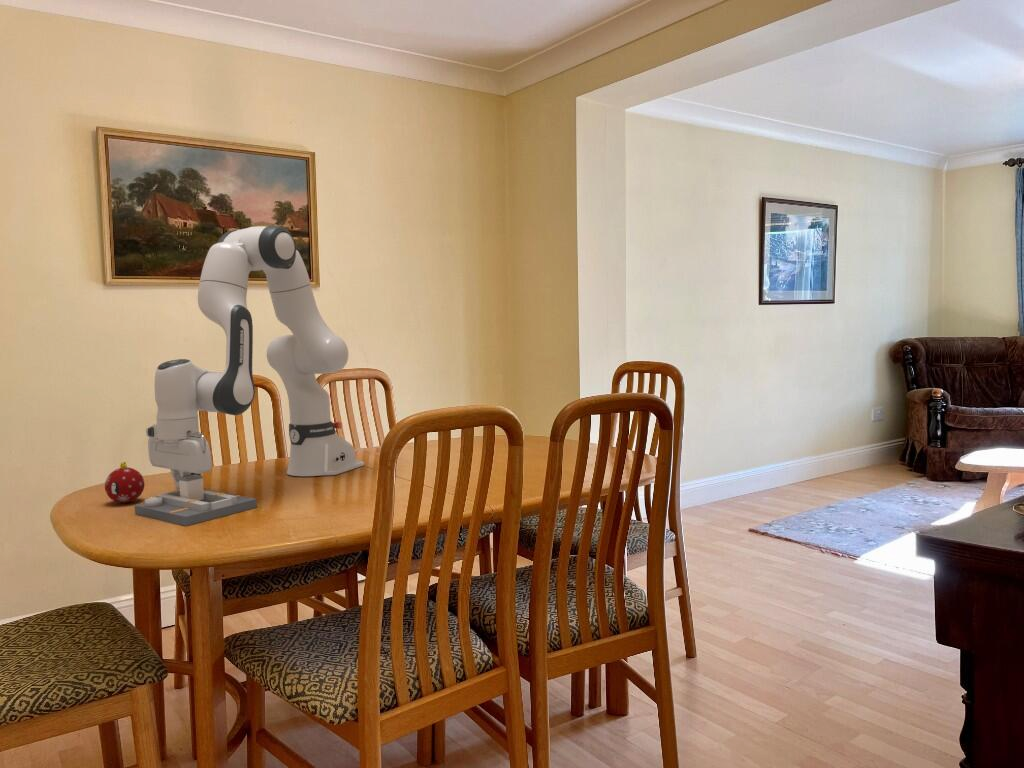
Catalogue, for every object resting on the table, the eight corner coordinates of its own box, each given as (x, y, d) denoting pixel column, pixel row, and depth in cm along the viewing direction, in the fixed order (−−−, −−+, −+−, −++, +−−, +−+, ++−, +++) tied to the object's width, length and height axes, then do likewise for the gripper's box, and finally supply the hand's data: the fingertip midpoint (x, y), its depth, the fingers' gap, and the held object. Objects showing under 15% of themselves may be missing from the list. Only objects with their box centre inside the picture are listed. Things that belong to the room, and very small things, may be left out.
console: (205, 497, 188) (204, 482, 188) (257, 507, 177) (256, 491, 177) (135, 514, 174) (134, 498, 173) (186, 526, 162) (185, 509, 162)
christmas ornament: (153, 498, 189) (150, 458, 188) (130, 507, 180) (127, 465, 179) (121, 498, 190) (118, 458, 189) (98, 506, 181) (94, 465, 180)
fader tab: (196, 497, 178) (194, 473, 178) (203, 499, 177) (202, 475, 176) (180, 501, 175) (178, 477, 175) (188, 503, 173) (186, 478, 173)
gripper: (217, 431, 173) (220, 490, 174) (166, 425, 185) (170, 481, 186) (191, 435, 168) (195, 496, 169) (141, 428, 180) (145, 486, 181)
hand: (182, 488), depth 178 cm, fingers closed
